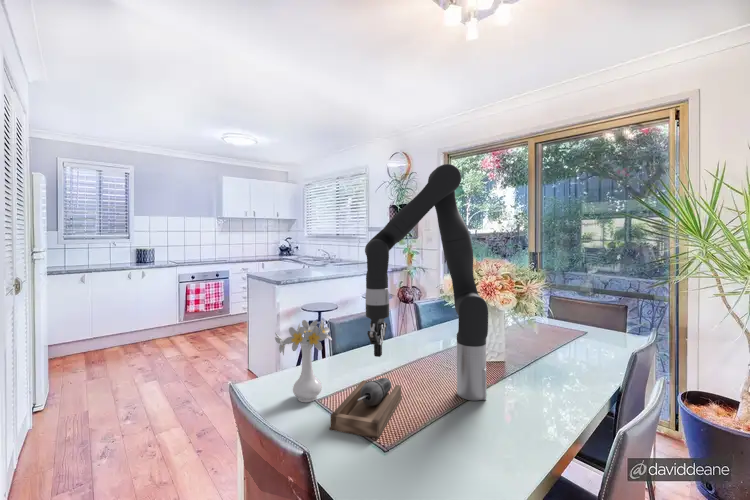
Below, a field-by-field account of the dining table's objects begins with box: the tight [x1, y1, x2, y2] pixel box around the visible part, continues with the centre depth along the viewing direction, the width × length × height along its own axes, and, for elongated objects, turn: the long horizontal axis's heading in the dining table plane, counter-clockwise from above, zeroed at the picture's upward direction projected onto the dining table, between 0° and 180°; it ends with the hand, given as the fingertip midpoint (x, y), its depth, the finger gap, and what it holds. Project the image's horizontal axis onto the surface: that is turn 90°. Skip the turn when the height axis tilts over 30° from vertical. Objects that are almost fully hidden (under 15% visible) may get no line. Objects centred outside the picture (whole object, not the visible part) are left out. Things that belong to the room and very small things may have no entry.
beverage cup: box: [357, 377, 392, 406], centre depth 107 cm, size 7×7×20 cm
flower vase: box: [274, 319, 333, 403], centre depth 111 cm, size 13×18×25 cm
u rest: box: [329, 380, 403, 440], centre depth 102 cm, size 14×24×4 cm, turn 161°
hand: (378, 355), depth 110 cm, fingers closed
